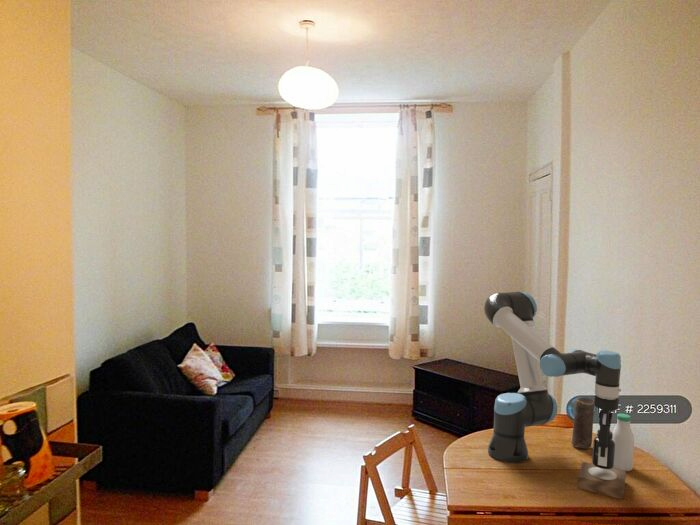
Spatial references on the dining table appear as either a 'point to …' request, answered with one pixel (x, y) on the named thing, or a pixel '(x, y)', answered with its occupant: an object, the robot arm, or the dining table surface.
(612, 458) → the supplement bottle
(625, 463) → the milk bottle
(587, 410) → the brown cylinder
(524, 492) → the dining table surface
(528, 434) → the dining table surface
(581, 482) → the walnut plinth
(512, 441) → the robot arm
